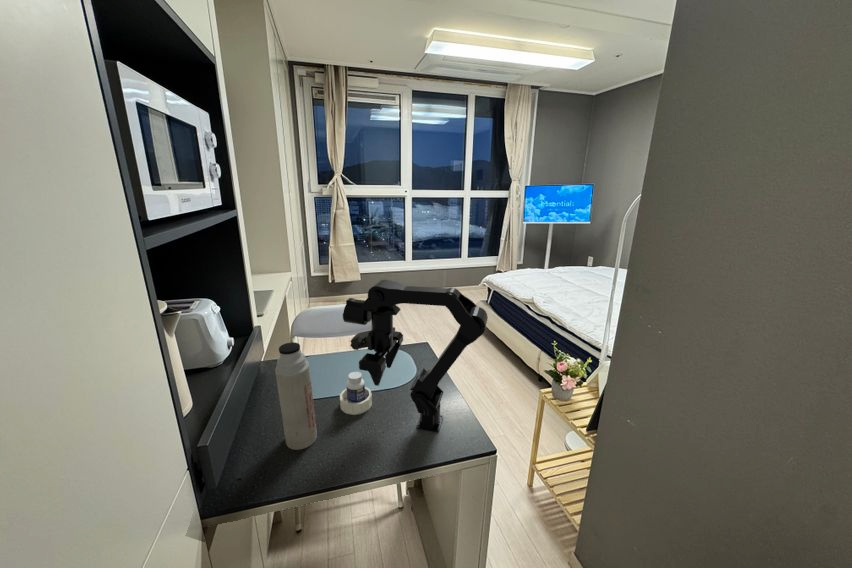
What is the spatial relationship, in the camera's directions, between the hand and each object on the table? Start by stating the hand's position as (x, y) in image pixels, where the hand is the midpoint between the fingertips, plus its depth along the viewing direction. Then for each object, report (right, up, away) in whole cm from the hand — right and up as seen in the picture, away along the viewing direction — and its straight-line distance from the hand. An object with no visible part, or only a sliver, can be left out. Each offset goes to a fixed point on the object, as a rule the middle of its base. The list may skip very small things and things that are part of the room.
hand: (383, 376), depth 99 cm
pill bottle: (-9, -11, +8) cm, 16 cm away
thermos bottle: (-21, -16, -5) cm, 27 cm away
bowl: (-9, -11, +8) cm, 17 cm away
